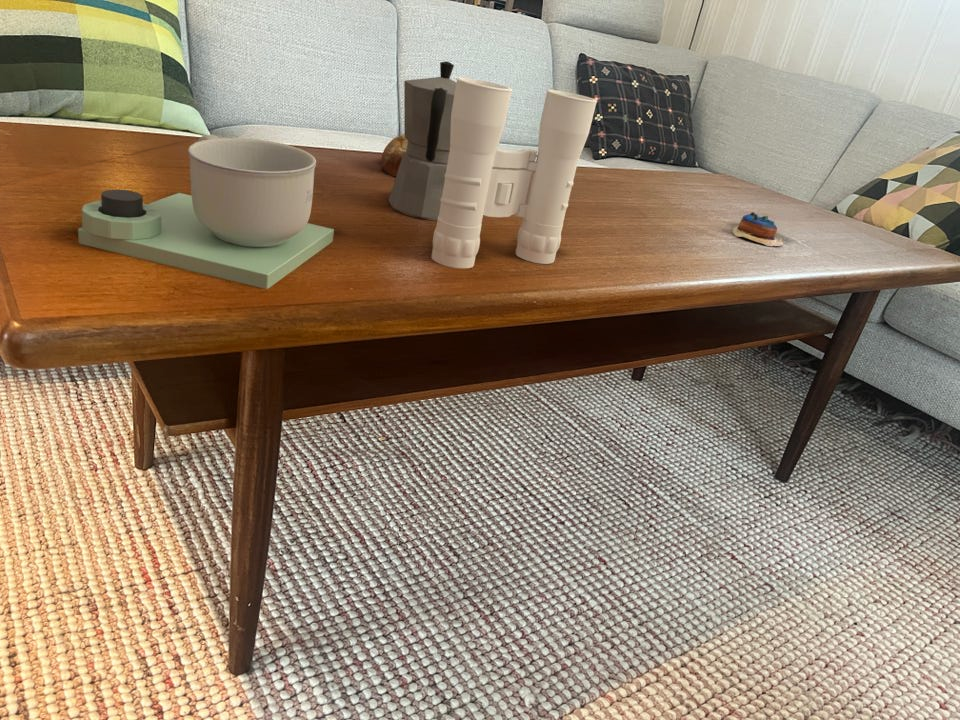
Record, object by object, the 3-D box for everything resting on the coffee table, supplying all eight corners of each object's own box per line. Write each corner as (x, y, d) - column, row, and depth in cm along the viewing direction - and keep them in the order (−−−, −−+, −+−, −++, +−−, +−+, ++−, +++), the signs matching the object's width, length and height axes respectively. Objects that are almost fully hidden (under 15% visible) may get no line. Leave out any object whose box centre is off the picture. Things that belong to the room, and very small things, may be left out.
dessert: (724, 228, 115) (745, 198, 115) (728, 247, 121) (749, 218, 121) (770, 248, 111) (792, 217, 111) (772, 267, 117) (793, 237, 117)
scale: (67, 244, 62) (65, 210, 60) (173, 204, 77) (174, 176, 75) (264, 292, 60) (266, 258, 59) (332, 242, 75) (335, 214, 74)
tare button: (93, 214, 62) (92, 194, 61) (116, 206, 65) (116, 187, 64) (128, 222, 62) (128, 202, 61) (150, 214, 64) (150, 195, 64)
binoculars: (537, 248, 88) (572, 92, 80) (567, 264, 84) (607, 102, 77) (417, 253, 77) (445, 75, 70) (446, 271, 74) (479, 85, 66)
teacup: (329, 254, 68) (338, 168, 64) (212, 260, 61) (215, 164, 57) (266, 208, 77) (271, 131, 73) (158, 209, 70) (158, 124, 67)
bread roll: (417, 189, 118) (407, 139, 117) (467, 178, 112) (457, 125, 110) (375, 194, 110) (364, 140, 109) (426, 182, 104) (415, 125, 103)
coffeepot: (393, 191, 99) (413, 50, 92) (461, 204, 100) (486, 65, 92) (378, 221, 85) (400, 58, 78) (457, 235, 86) (486, 75, 78)
